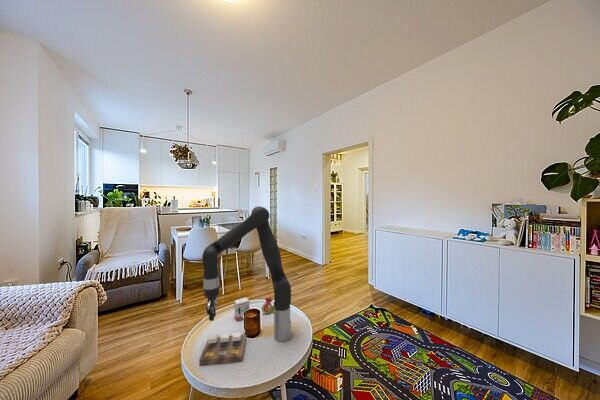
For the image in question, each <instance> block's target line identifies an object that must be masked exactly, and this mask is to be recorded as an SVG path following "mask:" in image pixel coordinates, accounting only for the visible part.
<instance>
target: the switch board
mask: <svg viewBox="0 0 600 400" xmlns="http://www.w3.org/2000/svg"><path fill="white" fill-rule="evenodd" d="M232 337H233V335H230V338H229V341H228V342H220V338H221V336H218V339H217V342H216V343H208V339H209V337H208V338H207V340H206V343H205V345H204V348H203V350H202V353H201V355H200V357H199V360H198V363H199V367H202V366H203V367H205V366H211V365H212V366H215V365H223V364H225V365H226V364H232V363H243V361H244V357H245V356H244V355H245V349H246V343H247V334H241V340H240V341H232Z"/></svg>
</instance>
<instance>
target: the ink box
mask: <svg viewBox="0 0 600 400" xmlns="http://www.w3.org/2000/svg"><path fill="white" fill-rule="evenodd" d="M247 310H250V299H249V297H242V298H238V299H236V300H234V319H235V321H236V322H241V321H243V315H244V312H245V311H247Z"/></svg>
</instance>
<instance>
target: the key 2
mask: <svg viewBox="0 0 600 400" xmlns="http://www.w3.org/2000/svg"><path fill="white" fill-rule="evenodd" d="M241 335H242V331H236V332H233V334H232V336H233V337H232V341H240V340H241Z"/></svg>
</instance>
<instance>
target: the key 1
mask: <svg viewBox="0 0 600 400" xmlns="http://www.w3.org/2000/svg"><path fill="white" fill-rule="evenodd" d="M218 337H219V334H218V333H215V334H214V333H212V334H211V333H210V335H209V336H208V338H209V339H208V338H207V340H208V343H216V342H217V339H218Z"/></svg>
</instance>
